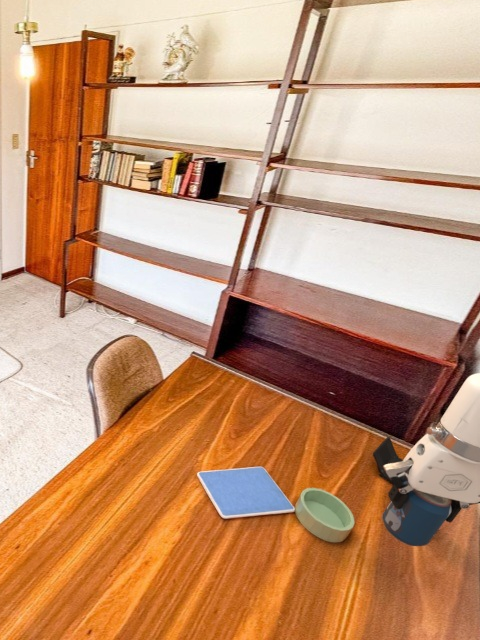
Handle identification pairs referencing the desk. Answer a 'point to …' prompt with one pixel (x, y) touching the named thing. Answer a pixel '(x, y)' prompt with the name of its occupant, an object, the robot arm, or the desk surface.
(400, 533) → the soda can
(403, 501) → the robot arm
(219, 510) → the tablet
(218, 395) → the desk surface
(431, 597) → the desk surface
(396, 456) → the handheld gaming console
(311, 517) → the bowl
